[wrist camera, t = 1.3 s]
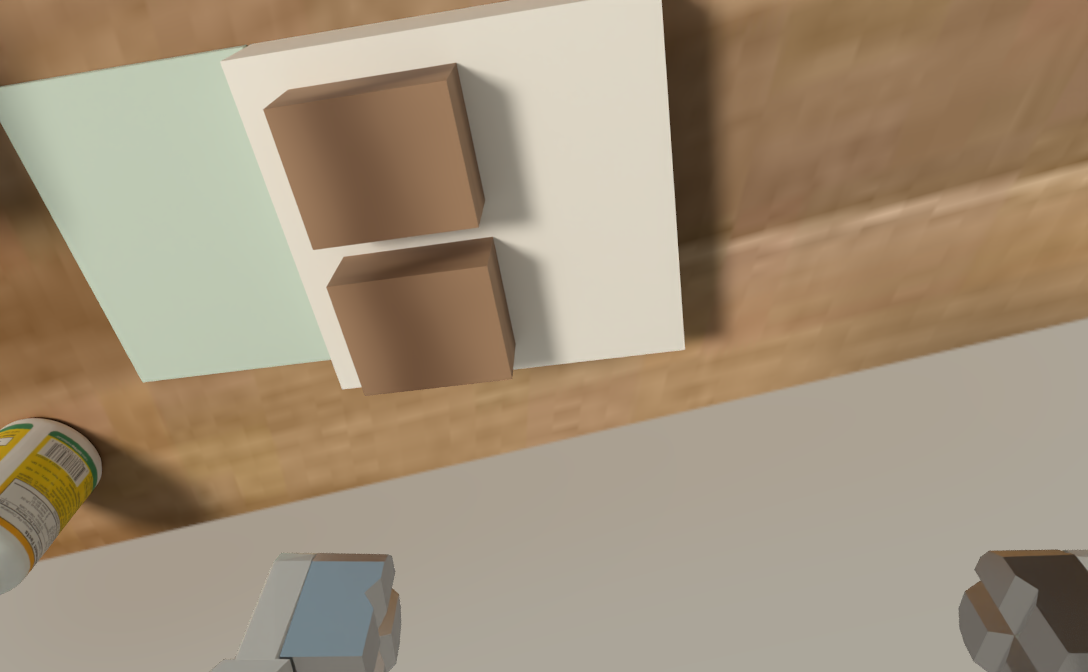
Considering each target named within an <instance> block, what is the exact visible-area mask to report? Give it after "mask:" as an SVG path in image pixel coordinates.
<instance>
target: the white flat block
mask: <svg viewBox="0 0 1088 672" xmlns="http://www.w3.org/2000/svg"><path fill="white" fill-rule="evenodd" d="M220 63H221V66H222V69H223V71H224V74H225V77H226V79H227V82H228V85H229V87H230V90H231V93H232V95H233V98H234V101H235V103H236V106H237V109H238V112H239V114H240V117H241V120H242V122H243V125H244V128H245V130H246V133H247V136H248V138H249V141H250V144H251V146H252V149H253V152H254V154H255V157H256V160H257V162H258V165H259V168H260V170H261V173H262V176H263V178H264V181H265V184H266V187H267V189H268V192H269V195H270V197H271V200H272V203H273V205H274V208H275V211H276V213H277V216H278V219H279V221H280V224H281V227H282V229H283V232H284V235H285V237H286V240H287V243H288V245H289V248H290V251H291V253H292V256H293V259H294V262H295V264H296V267H297V270H298V272H299V275H300V278H301V280H302V283H303V286H304V288H305V291H306V294H307V296H308V299H309V302H310V304H311V307H312V310H313V312H314V315H315V318H316V320H317V323H318V326H319V328H320V331H321V334H322V337H323V339H324V342H325V345H326V347H327V350H328V353H329V355H330V358H331V361H332V363H333V366H334V369H335V371H336V374H337V377H338V379H339V382H340V385H341V387H342V389H350V388H358V387H362V386H361V384H360V381H359V378H358V375H357V372H356V370H355V367H354V364H353V361H352V358H351V356H350V353H349V350H348V347H347V344H346V341H345V339H344V336H343V333H342V330H341V327H340V325H339V322H338V319H337V316H336V313H335V310H334V308H333V305H332V302H331V299H330V296H329V294H328V291H327V288H326V287H327V285H328V283H329V281H330V280H331V278H332V276H333V274H334V273H335V271H336V269H337V267H338V266H339V264H340V262H341V260H342V259H343V257H346V256H353V255H360V254H368V253H375V252H383V251H390V250H397V249H405V248H412V247H420V246H427V245H434V244H442V243H449V242H457V241H464V240H471V239H479V238H486V237H493V239H494V244H495V249H496V253H497V258H498V263H499V267H500V272H501V277H502V282H503V286H504V291H505V296H506V301H507V305H508V310H509V315H510V320H511V324H512V329H513V334H514V339H515V343H516V347H515V356H514V366H513V370H514V369H522V368H531V367H540V366H548V365H557V364H566V363H574V362H583V361H591V360H600V359H609V358H617V357H626V356H635V355H643V354H652V353H660V352H669V351H678V350H685V343H684V328H683V313H682V298H681V283H680V268H679V253H678V238H677V223H676V208H675V193H674V179H673V164H672V149H671V134H670V119H669V104H668V89H667V74H666V59H665V44H664V29H663V14H662V0H510V1H504V2H498V3H492V4H486V5H480V6H475V7H469V8H463V9H457V10H451V11H445V12H439V13H433V14H427V15H421V16H415V17H409V18H403V19H397V20H391V21H385V22H380V23H374V24H368V25H362V26H356V27H350V28H344V29H338V30H332V31H326V32H320V33H314V34H308V35H302V36H296V37H291V38H285V39H279V40H273V41H267V42H261V43H255V44H251V45H249V46H247V47H245V48H243V49H242V50H240V51H238V52H236V53H234V54H233V55H231V56H229V57H227V58H225V59H224V60H222V61H220ZM451 63H456V64H457V68H458V73H459V78H460V83H461V87H462V92H463V97H464V102H465V106H466V111H467V116H468V121H469V125H470V130H471V135H472V140H473V144H474V149H475V154H476V159H477V163H478V168H479V173H480V177H481V182H482V187H483V192H484V196H485V204H484V208H483V212H482V216H481V220H480V224H479V228H472V229H464V230H457V231H450V232H442V233H435V234H428V235H420V236H413V237H406V238H399V239H391V240H384V241H377V242H369V243H362V244H355V245H347V246H340V247H333V248H325V249H318V250H313V249H312V246H311V243H310V240H309V237H308V235H307V232H306V229H305V226H304V223H303V220H302V218H301V215H300V212H299V209H298V206H297V204H296V201H295V198H294V195H293V192H292V189H291V187H290V184H289V181H288V178H287V175H286V173H285V170H284V167H283V164H282V161H281V159H280V156H279V153H278V150H277V147H276V144H275V142H274V139H273V136H272V133H271V130H270V128H269V125H268V122H267V119H266V116H265V114H264V111H263V109H264V108H265V107H267V106H268V105H269V104H270V103H272V102H273V101H274V100H276V99H277V98H278V97H279V96H281V95H282V94H283V93H284V92H286V91H287V90H289V89H295V88H301V87H308V86H314V85H320V84H326V83H332V82H339V81H345V80H351V79H357V78H364V77H370V76H376V75H382V74H388V73H395V72H401V71H407V70H413V69H420V68H426V67H432V66H438V65H444V64H451Z"/></svg>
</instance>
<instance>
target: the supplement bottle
mask: <svg viewBox="0 0 1088 672" xmlns="http://www.w3.org/2000/svg"><path fill="white" fill-rule="evenodd" d="M101 475H102V463H101V458H100V456H99V454H98V452H97V450H96V449H95V447H94V446H93V445H92V444H91V442H90V441H89V440H88V439H87V438H86V437H84V436H83V435H82V434H81V433H79V432H77V431H76V430H74V429H73V428H71V427H69V426H67V425H65V424H62V423H60V422H57V421H53V420H49V419H42V418H28V419H22V420H18V421H15V422H12V423H10V424H8V425H6V426H5V427H4V428H2V429H1V430H0V595H1V594H4V593H6V592H8V591H10V590H12V589H13V588H15V587H16V586H17V585H18V584H20V583H21V582H22V580H23V579H24V578H25V577H26V576H27V575H28V573H29V572H30V571H31V570H32V568H33V567H34V566H35V564H36V563H37V562H38V560H39V559H40V558H41V557H42V555H43V554H44V553H45V552H46V550H47V549H48V548H49V546H50V545H51V544H52V543H53V541H54V540H55V539H56V537H57V536H58V535H59V533H60V532H61V531H62V529H63V528H64V527H65V526H66V524H67V523H68V522H69V520H70V519H71V518H72V517H73V515H74V514H75V513H76V511H77V510H78V509H79V508H80V506H81V505H82V504H83V503H84V501H85V500H86V499H87V498H88V496H89V495H90V494H91V492H92V491H93V490H94V488H95V487H96V486H97V484H98V483H99V481H100V479H101Z"/></svg>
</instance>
